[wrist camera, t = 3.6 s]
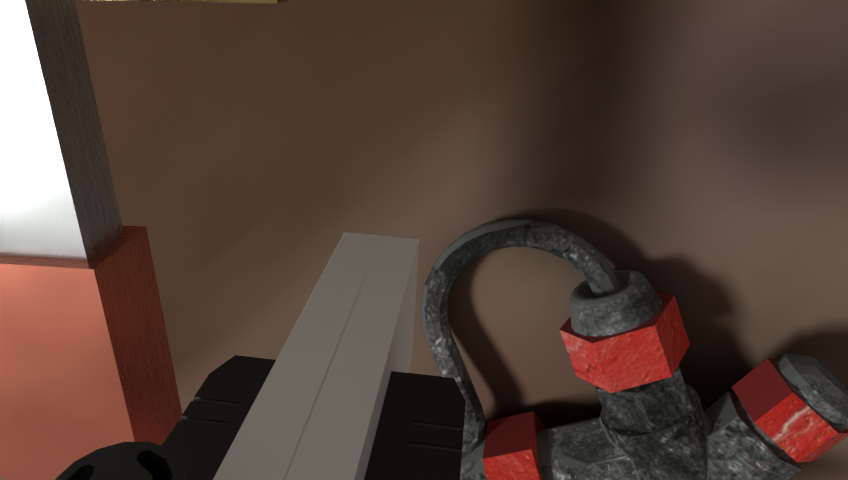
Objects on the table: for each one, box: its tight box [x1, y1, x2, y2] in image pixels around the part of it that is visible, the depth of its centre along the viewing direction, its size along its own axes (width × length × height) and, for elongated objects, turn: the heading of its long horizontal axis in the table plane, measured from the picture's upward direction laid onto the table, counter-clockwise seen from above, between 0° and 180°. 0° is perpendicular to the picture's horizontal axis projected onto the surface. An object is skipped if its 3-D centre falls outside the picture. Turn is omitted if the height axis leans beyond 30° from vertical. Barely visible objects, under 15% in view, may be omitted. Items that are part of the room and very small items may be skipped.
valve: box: [421, 219, 848, 480], centre depth 26 cm, size 6×26×15 cm
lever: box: [0, 0, 182, 480], centre depth 11 cm, size 16×4×2 cm, turn 0°
